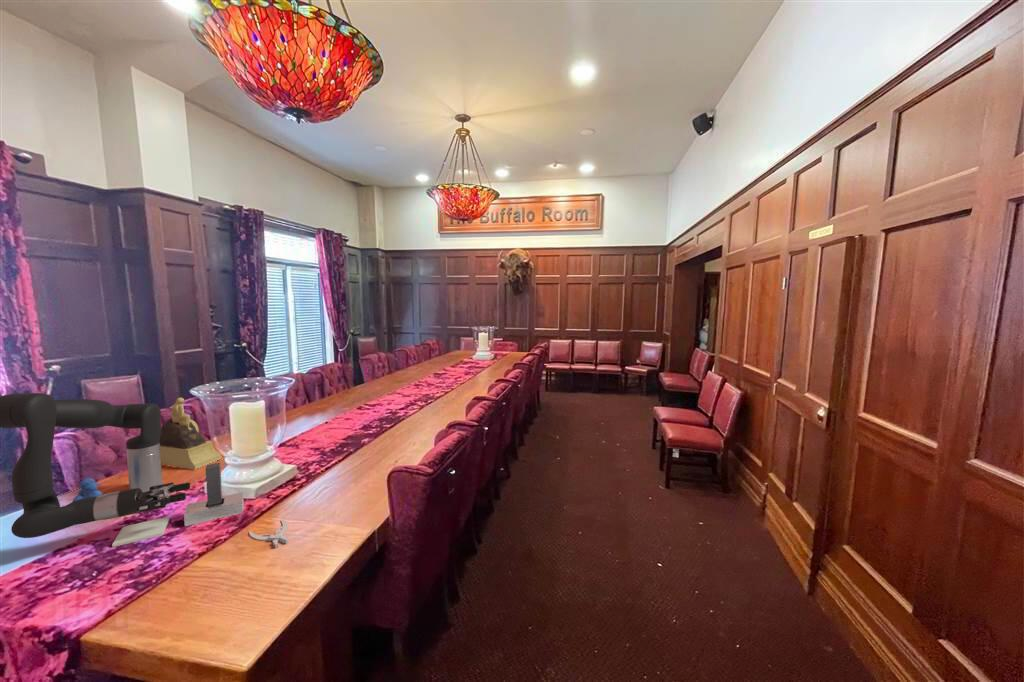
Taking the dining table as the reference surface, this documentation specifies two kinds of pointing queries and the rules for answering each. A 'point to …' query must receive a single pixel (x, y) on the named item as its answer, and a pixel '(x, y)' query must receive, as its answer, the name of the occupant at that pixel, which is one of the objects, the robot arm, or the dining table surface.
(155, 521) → the sage pad
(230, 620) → the dining table surface
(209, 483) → the steel peg
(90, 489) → the grapes
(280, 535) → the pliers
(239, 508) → the grey slotted block
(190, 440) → the seated figure statue
